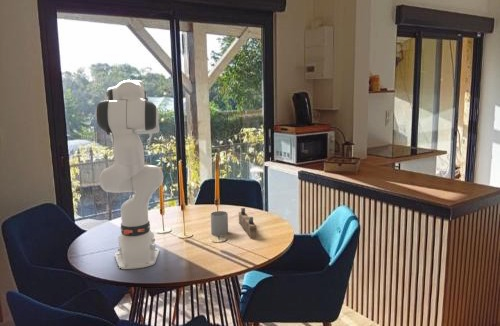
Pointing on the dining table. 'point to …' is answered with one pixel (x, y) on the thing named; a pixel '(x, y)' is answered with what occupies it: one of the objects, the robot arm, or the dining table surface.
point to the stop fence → (247, 224)
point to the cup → (219, 223)
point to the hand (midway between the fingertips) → (139, 143)
